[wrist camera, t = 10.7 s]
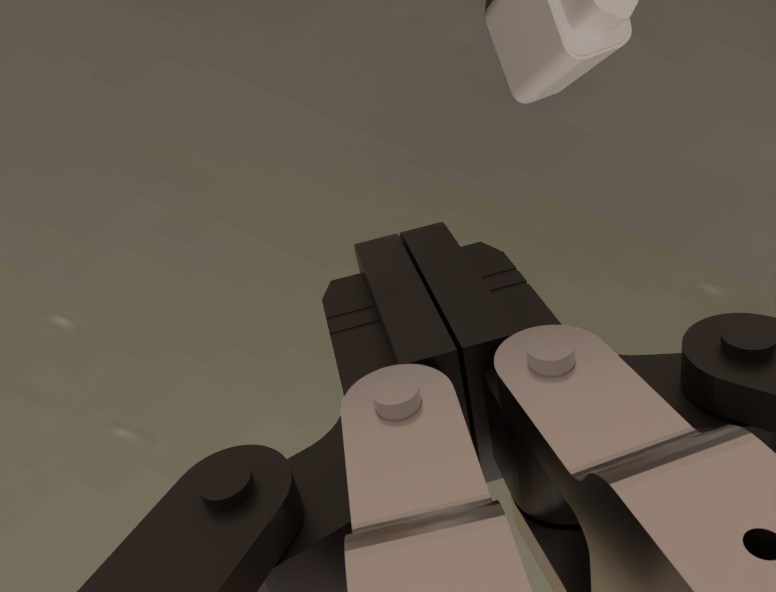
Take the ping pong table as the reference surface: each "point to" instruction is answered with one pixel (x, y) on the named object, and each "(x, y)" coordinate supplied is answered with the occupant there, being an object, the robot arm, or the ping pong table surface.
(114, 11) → the ping pong table surface
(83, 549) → the ping pong table surface
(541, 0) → the power adapter
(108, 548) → the ping pong table surface
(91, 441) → the ping pong table surface
